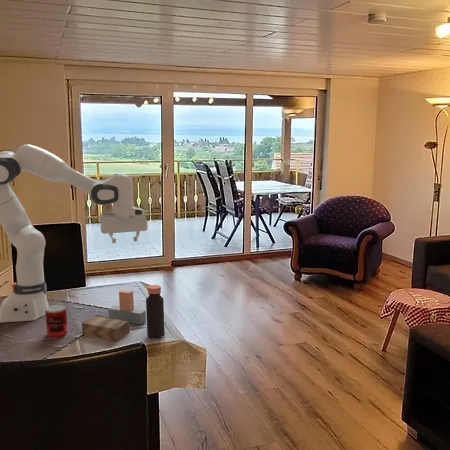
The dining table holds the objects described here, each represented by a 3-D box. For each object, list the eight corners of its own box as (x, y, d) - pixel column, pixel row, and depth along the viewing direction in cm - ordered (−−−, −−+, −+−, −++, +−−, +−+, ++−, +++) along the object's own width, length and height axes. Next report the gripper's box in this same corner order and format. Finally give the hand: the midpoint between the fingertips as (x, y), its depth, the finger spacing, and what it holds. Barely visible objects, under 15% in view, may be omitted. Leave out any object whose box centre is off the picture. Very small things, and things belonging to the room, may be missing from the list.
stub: (108, 319, 205) (107, 290, 202) (114, 315, 208) (113, 287, 206) (140, 324, 199) (139, 295, 196) (146, 321, 202) (144, 292, 200)
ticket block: (82, 334, 189) (81, 322, 188) (96, 326, 197) (96, 314, 196) (116, 341, 183) (115, 328, 182) (129, 332, 191) (129, 320, 190)
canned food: (60, 328, 196) (58, 302, 194) (71, 333, 191) (70, 307, 189) (43, 334, 190) (41, 308, 188) (54, 339, 185) (52, 312, 183)
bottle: (148, 340, 184) (146, 290, 181) (146, 333, 191) (144, 284, 187) (166, 337, 186) (164, 288, 182) (163, 331, 193) (161, 283, 189)
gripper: (100, 213, 203) (101, 245, 205) (147, 210, 210) (148, 241, 213) (98, 211, 209) (99, 242, 211) (144, 208, 216) (145, 238, 218)
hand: (124, 242), depth 212 cm, fingers open, 8 cm apart
